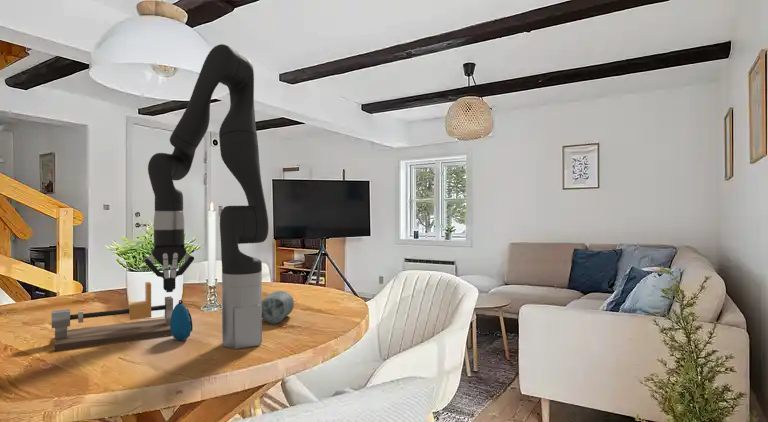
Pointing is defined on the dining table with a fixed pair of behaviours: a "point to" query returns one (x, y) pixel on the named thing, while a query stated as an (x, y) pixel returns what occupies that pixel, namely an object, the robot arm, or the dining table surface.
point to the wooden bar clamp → (108, 328)
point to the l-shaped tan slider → (141, 305)
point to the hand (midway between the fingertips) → (169, 291)
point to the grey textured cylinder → (277, 306)
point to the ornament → (180, 322)
